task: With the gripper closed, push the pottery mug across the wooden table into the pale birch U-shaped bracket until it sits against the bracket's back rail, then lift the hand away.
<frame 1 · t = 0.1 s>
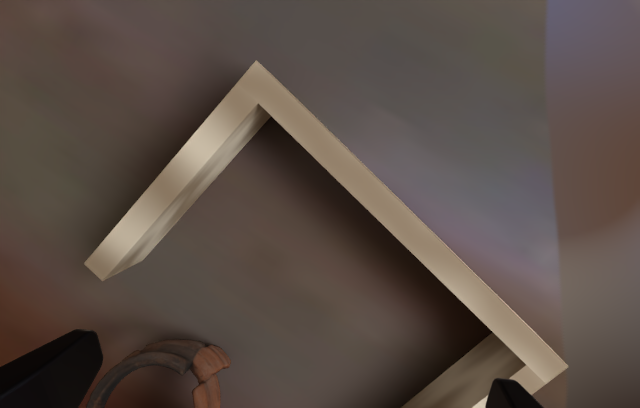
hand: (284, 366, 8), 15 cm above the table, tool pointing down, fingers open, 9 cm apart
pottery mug: (201, 398, 27), on the table
birch bracket: (323, 283, 24), on the table
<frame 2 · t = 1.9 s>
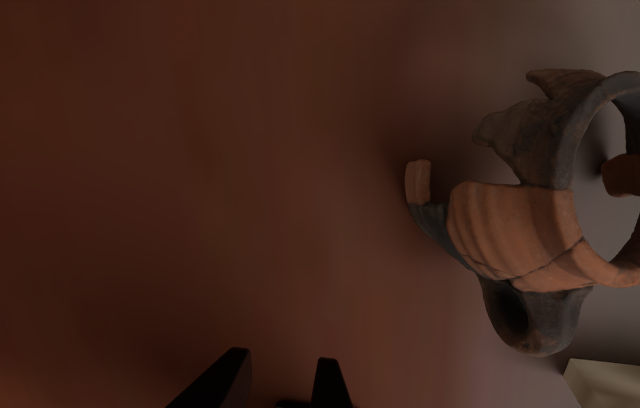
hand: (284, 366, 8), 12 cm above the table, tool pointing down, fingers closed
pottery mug: (502, 190, 18), on the table
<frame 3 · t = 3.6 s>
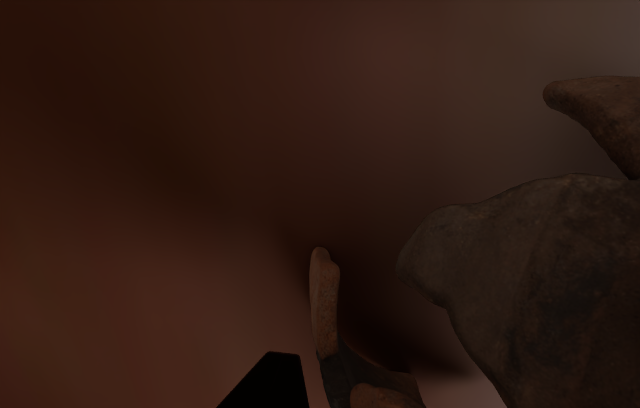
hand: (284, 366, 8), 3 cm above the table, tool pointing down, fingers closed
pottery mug: (492, 297, 10), on the table, touching gripper
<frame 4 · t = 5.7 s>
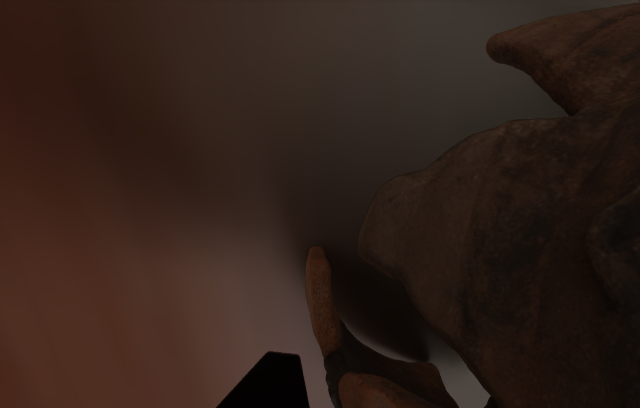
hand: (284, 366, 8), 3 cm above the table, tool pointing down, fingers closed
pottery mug: (501, 272, 9), on the table, touching gripper
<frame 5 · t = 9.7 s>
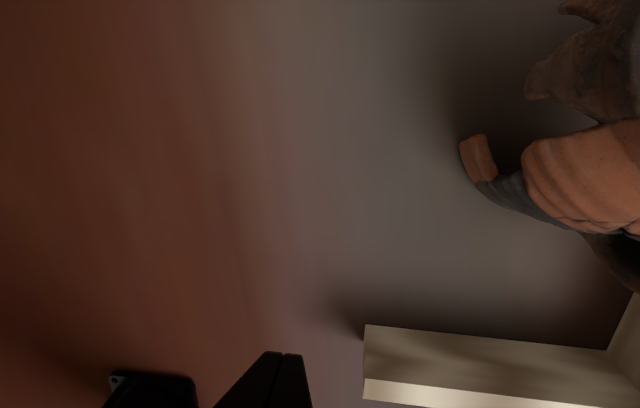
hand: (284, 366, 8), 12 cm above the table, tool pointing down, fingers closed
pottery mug: (572, 134, 17), on the table
birch bracket: (547, 181, 17), on the table
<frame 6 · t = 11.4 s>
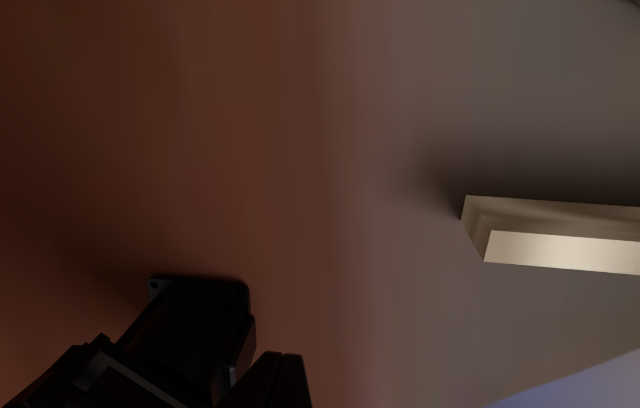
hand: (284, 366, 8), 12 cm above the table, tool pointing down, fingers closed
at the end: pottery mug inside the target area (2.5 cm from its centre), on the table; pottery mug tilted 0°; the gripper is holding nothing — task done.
